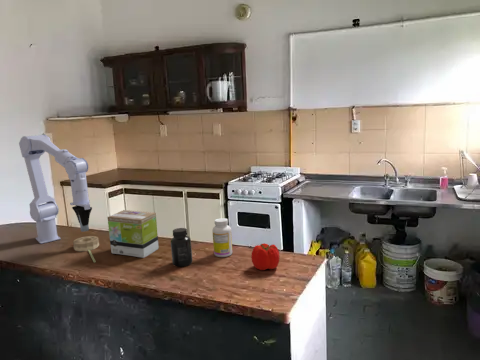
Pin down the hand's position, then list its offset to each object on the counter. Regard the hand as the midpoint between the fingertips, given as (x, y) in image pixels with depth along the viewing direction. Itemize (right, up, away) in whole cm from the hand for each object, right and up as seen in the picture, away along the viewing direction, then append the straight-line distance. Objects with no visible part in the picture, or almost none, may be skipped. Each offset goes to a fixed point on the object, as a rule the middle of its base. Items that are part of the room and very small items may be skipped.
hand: (83, 224), depth 159 cm
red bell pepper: (+70, -11, -27) cm, 75 cm away
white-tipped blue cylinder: (0, -2, +1) cm, 3 cm away
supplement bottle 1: (+41, -11, -20) cm, 47 cm away
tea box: (+22, -10, -6) cm, 24 cm away
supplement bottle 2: (+55, -10, -13) cm, 57 cm away
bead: (0, -9, +2) cm, 9 cm away
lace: (+6, -11, -9) cm, 15 cm away
